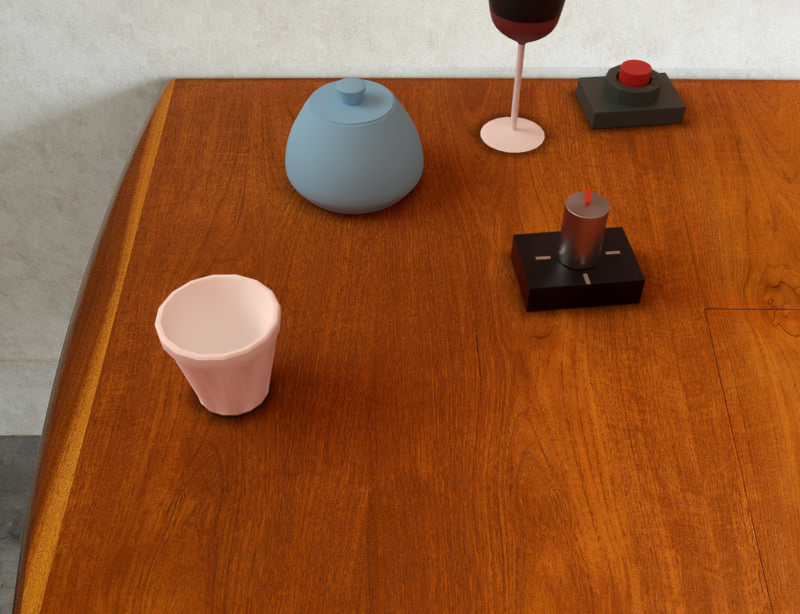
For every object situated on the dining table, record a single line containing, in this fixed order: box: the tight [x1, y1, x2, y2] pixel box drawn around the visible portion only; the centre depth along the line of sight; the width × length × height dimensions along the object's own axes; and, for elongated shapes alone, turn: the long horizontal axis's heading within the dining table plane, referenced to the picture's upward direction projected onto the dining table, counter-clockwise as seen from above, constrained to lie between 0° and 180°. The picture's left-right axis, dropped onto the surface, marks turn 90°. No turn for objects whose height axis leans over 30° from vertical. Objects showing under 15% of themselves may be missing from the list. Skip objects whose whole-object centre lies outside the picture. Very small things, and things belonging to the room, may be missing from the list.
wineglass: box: [480, 0, 566, 154], centre depth 97 cm, size 8×9×20 cm
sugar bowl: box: [284, 77, 425, 215], centre depth 94 cm, size 15×15×12 cm
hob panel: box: [510, 226, 646, 313], centre depth 87 cm, size 11×8×3 cm
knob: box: [557, 188, 611, 269], centre depth 83 cm, size 4×4×6 cm
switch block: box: [575, 63, 687, 130], centre depth 107 cm, size 11×8×4 cm
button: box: [618, 59, 653, 87], centre depth 105 cm, size 4×4×2 cm
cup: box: [154, 273, 282, 417], centre depth 75 cm, size 10×10×9 cm
